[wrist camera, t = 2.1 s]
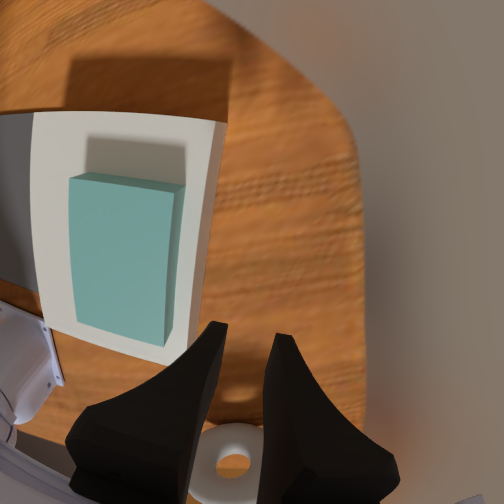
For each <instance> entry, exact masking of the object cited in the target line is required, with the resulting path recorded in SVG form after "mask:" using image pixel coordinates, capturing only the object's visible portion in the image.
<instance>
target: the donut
mask: <svg viewBox="0 0 504 504" xmlns="http://www.w3.org/2000/svg"><path fill="white" fill-rule="evenodd" d="M263 439H264V433H263V428H260V427H257V426H254V425H252V424H245V423H229V424H221V425H218V426H216V427H213V428H210V429H207V430H206V431H204V432H203V433H201V434H200V438H199V442H198V447H197V452H196V456H195V461H194V465H193V470H192V475H191V480H190V484H189V489H188V491H189V493H190V494H191V495H192V496H193V497H194V498H195V499H196V500H198V501H199V502H201V503H203V504H256V502H257V495H258V488H259V480H260V472H261V463H262V454H263ZM230 454H242V455H245V456H247V457H248V458H249V459H250V462H251V464H250V468H249V469H248V471H247V472H246V473H245V474H243V475H242V476H239V477H236V478H224V477H222V476H220V475H218V474H217V472H216V465H217V463H218V462H219V460H221V459H222V458H223V457H225V456H228V455H230Z"/></svg>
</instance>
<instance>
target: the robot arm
mask: <svg viewBox="0 0 504 504" xmlns="http://www.w3.org/2000/svg"><path fill="white" fill-rule="evenodd" d="M0 316H1V320H2V321H1V322H0V504H186V499H187V494H188V489H189V484H190V480H191V475H192V470H193V465H194V461H195V456H196V452H197V447H198V442H199V438H200V434H201V431H202V427H203V424H204V421H205V418H206V415H207V412H208V409H209V406H210V403H211V400H212V397H213V394H214V391H215V388H216V385H217V382H218V377H219V372H220V368H221V363H222V357H223V351H224V346H225V340H226V334H227V328H228V324H226V323H221V322H216V321H211V322H210V323H209V324H208V326H207V327H206V329H205V330H204V331H203V333H202V334H201V335H200V336H199V337H198V338H197V340H196V341H195V342H194V343H193V344H192V345H191V346H190V347H189V348H188V349H187V350H186V351H185V352H184V353H183V354H182V355H181V356H180V357H178V358H177V359H176V360H175V361H174V362H173V363H172V364H170V365H169V366H168V367H167V368H165V369H164V370H163V371H161V372H160V373H158V374H157V375H156V376H154V377H152V378H151V379H149V380H148V381H146V382H144V383H143V384H141V385H139V386H137V387H136V388H134V389H132V390H129V391H127V392H125V393H123V394H121V395H119V396H117V397H114V398H112V399H109V400H106V401H103V402H100V403H97V404H94V405H91V406H88V407H86V409H85V410H84V411H83V412H82V413H81V415H80V416H79V417H78V418H77V420H76V421H75V423H74V425H73V426H72V428H71V430H70V432H69V433H68V435H67V437H66V440H65V444H66V447H67V449H68V451H69V453H70V455H71V457H72V459H73V460H74V462H75V464H76V466H77V468H76V470H75V472H74V474H73V476H72V478H71V479H70V478H68V477H66V476H64V475H62V474H60V473H58V472H56V471H54V470H52V469H50V468H48V467H46V466H44V465H43V464H41V463H39V462H37V461H36V460H34V459H32V458H30V457H28V456H27V455H25V454H23V453H22V452H20V451H18V450H17V449H15V448H14V446H15V443H16V437H17V436H16V434H17V430H16V427H15V426H14V424H23V423H26V422H28V421H29V420H31V419H32V418H33V417H34V416H35V415H36V413H37V412H38V411H39V409H40V408H41V406H42V405H43V403H44V402H45V400H46V399H47V397H48V396H49V395H50V393H51V392H52V390H53V389H54V387H55V386H56V385H60V386H64V384H65V383H64V379H63V376H62V373H61V369H60V366H59V362H58V358H57V355H56V351H55V347H54V343H53V338H52V334H51V330H50V328H49V327H47V326H45V321H44V319H42V318H40V317H38V316H35V315H33V314H30V313H28V312H25V311H23V310H21V309H18V308H16V307H14V306H12V305H9V304H7V303H5V302H3V301H0ZM263 433H264V439H263V454H262V463H261V472H260V480H259V488H258V495H257V502H256V504H380V501H381V500H382V499H384V498H385V497H386V496H387V495H388V494H390V493H391V492H392V491H393V490H394V489H395V488H396V487H397V486H398V485H399V482H400V476H399V472H398V467H397V464H396V461H395V459H394V455H393V454H391V453H390V452H388V451H387V450H385V449H384V448H382V447H381V446H379V445H378V444H376V443H374V442H373V441H372V440H371V439H369V438H368V437H367V436H366V435H364V434H363V433H362V432H361V431H359V430H358V429H357V428H356V427H355V426H354V425H353V424H352V423H351V422H349V421H348V420H347V419H346V418H345V417H344V416H343V415H342V414H341V413H340V411H339V410H338V409H337V408H336V407H335V406H334V405H333V403H332V402H331V401H330V400H329V399H328V397H327V396H326V395H325V393H324V392H323V390H322V389H321V388H320V386H319V385H318V383H317V382H316V380H315V378H314V377H313V375H312V373H311V372H310V370H309V368H308V366H307V365H306V363H305V361H304V359H303V357H302V355H301V353H300V351H299V349H298V347H297V345H296V343H295V340H294V338H293V337H292V335H286V334H280V333H276V335H275V339H274V342H273V346H272V349H271V352H270V356H269V359H268V363H267V366H266V369H265V377H264V386H263ZM456 504H485V502H484V499H483V496H482V494H479V495H476V496H473V497H471V498H467V499H464V500H462V501H460V502H457V503H456Z"/></svg>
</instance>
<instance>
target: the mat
mask: <svg viewBox="0 0 504 504" xmlns="http://www.w3.org/2000/svg"><path fill="white" fill-rule="evenodd" d="M33 117H34V113H23V114H9V115H0V279H3V280H5V281H8V282H10V283H13V284H15V285H18V286H21V287H23V288H26V289H28V290H31V291H34V292H37V293H39V289H38V283H37V276H36V269H35V261H34V252H33V241H32V229H31V211H30V158H31V140H32V127H33Z"/></svg>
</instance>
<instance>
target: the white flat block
mask: <svg viewBox="0 0 504 504" xmlns="http://www.w3.org/2000/svg"><path fill="white" fill-rule="evenodd" d="M227 124H228V123H223V122H218V121H212V120H204V119H196V118H188V117H178V116H168V115H157V114H143V113H127V112H100V111H57V112H34V117H33V127H32V140H31V158H30V211H31V229H32V241H33V252H34V261H35V269H36V276H37V283H38V289H39V295H40V301H41V306H42V311H43V316H44V321H45V326H47V327H49V328H52V329H54V330H57V331H60V332H62V333H65V334H68V335H70V336H73V337H76V338H78V339H81V340H84V341H87V342H90V343H93V344H96V345H99V346H102V347H105V348H108V349H111V350H114V351H117V352H121V353H124V354H127V355H130V356H134V357H137V358H141V359H144V360H148V361H152V362H155V363H159V364H163V365H167V366H169V365H170V364H172V363H173V362H174V361H175V360H176V359H177V358H178V357H180V356H181V355H182V354H183V353H184V352H185V351H186V350H187V349H188V348H189V347H190V346H191V345H192V344H193V343H194V342H195V341H196V338H197V333H198V323H199V314H200V306H201V297H202V289H203V281H204V273H205V265H206V258H207V250H208V243H209V236H210V229H211V222H212V215H213V208H214V202H215V195H216V189H217V182H218V176H219V170H220V164H221V158H222V152H223V146H224V141H225V135H226V129H227ZM87 172H93V173H101V174H109V175H117V176H124V177H132V178H139V179H146V180H153V181H159V182H166V183H172V184H179V185H185V186H186V190H185V197H184V206H183V214H182V223H181V232H180V242H179V252H178V264H177V275H176V288H175V303H174V319H173V329H172V331H171V333H170V335H169V338H168V340H167V342H166V344H165V346H164V347H160V346H156V345H153V344H149V343H145V342H142V341H138V340H134V339H131V338H127V337H124V336H121V335H117V334H114V333H111V332H107V331H104V330H101V329H98V328H95V327H92V326H89V325H86V324H83V323H80V322H77V317H76V310H75V302H74V294H73V285H72V274H71V262H70V246H69V213H68V200H69V178H71V177H74V176H77V175H80V174H84V173H87Z"/></svg>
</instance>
